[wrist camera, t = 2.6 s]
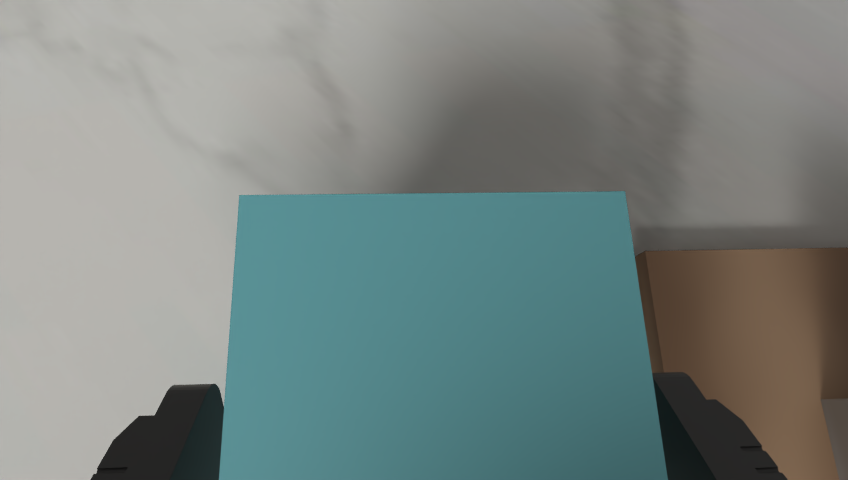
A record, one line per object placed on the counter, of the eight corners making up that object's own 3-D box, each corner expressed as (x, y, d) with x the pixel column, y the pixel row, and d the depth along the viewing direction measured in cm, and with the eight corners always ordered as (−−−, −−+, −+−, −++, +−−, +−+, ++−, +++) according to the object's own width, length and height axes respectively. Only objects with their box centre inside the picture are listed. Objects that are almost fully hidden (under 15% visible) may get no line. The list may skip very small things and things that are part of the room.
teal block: (327, 490, 15) (206, 663, 5) (330, 309, 16) (239, 195, 7) (505, 482, 15) (690, 635, 6) (493, 306, 17) (624, 191, 7)
